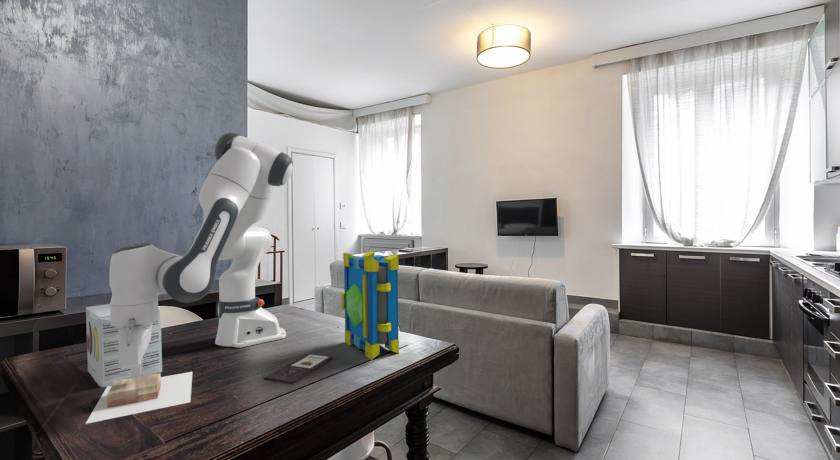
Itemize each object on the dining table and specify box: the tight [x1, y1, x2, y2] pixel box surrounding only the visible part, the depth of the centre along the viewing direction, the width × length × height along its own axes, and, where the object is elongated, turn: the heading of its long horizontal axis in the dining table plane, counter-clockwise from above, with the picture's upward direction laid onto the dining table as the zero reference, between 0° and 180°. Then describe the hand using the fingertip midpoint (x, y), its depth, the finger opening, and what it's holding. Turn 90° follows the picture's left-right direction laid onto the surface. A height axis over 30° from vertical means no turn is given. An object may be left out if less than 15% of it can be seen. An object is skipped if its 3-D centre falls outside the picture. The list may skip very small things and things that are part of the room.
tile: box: [107, 372, 162, 408], centre depth 89 cm, size 3×8×9 cm
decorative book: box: [340, 250, 400, 361], centre depth 122 cm, size 14×23×30 cm, turn 33°
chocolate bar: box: [263, 353, 334, 385], centre depth 106 cm, size 9×1×18 cm
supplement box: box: [85, 303, 163, 388], centre depth 104 cm, size 17×13×18 cm
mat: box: [85, 371, 193, 425], centre depth 90 cm, size 18×20×1 cm
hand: (136, 374), depth 89 cm, fingers closed
